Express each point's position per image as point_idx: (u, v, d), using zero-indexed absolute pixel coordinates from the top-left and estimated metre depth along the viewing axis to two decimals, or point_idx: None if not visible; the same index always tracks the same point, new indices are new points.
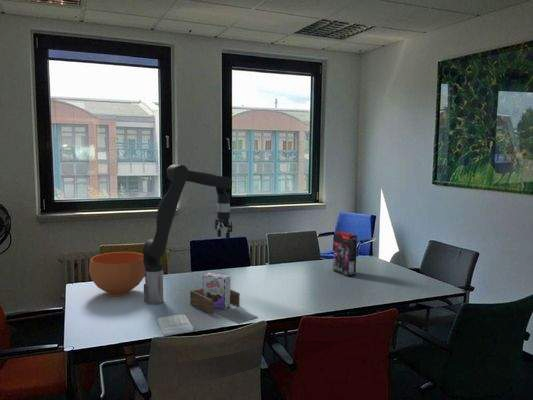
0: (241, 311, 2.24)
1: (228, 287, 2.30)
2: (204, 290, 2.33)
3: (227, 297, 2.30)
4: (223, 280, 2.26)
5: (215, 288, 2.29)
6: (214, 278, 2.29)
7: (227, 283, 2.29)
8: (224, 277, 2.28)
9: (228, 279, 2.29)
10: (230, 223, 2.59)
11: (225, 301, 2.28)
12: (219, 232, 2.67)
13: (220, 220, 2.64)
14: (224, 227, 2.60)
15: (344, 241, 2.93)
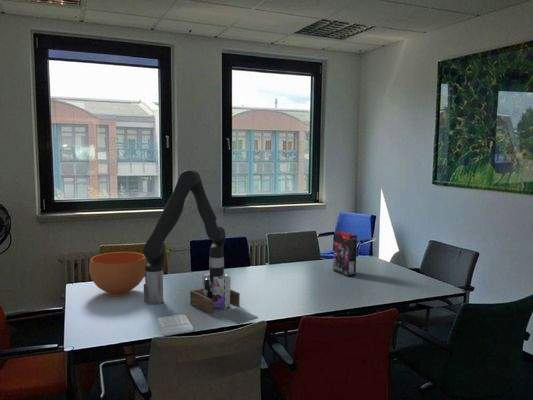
0: (241, 311, 2.24)
1: (228, 287, 2.30)
2: (204, 290, 2.33)
3: (227, 297, 2.30)
4: (223, 280, 2.26)
5: (215, 288, 2.29)
6: (214, 278, 2.29)
7: (227, 283, 2.29)
8: (224, 277, 2.28)
9: (228, 279, 2.29)
10: None
11: (225, 301, 2.28)
12: None
13: None
14: None
15: (344, 241, 2.93)
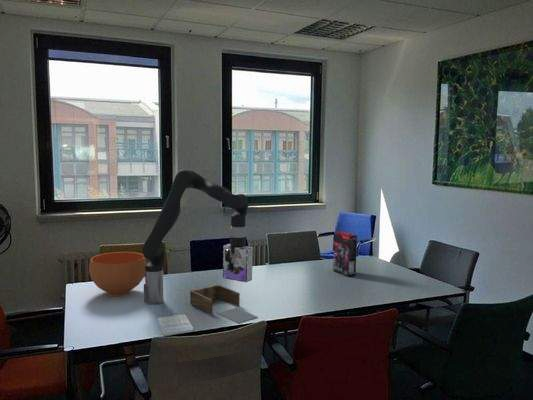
0: (241, 311, 2.24)
1: (250, 259, 2.14)
2: (224, 262, 2.17)
3: (249, 269, 2.14)
4: (245, 251, 2.11)
5: (237, 260, 2.14)
6: (235, 249, 2.13)
7: (249, 254, 2.13)
8: (246, 248, 2.12)
9: (250, 250, 2.13)
10: None
11: (247, 274, 2.13)
12: None
13: None
14: None
15: (344, 241, 2.93)
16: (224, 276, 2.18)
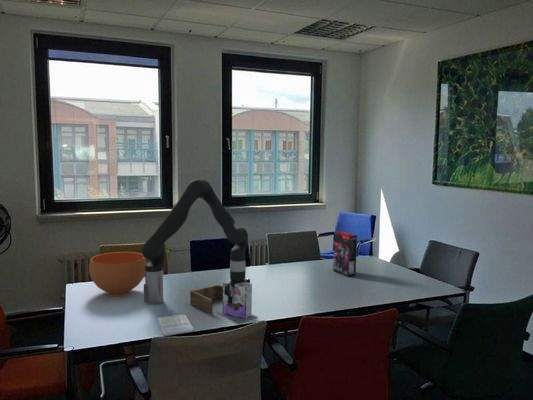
0: None
1: (249, 295, 2.16)
2: (224, 298, 2.19)
3: (249, 306, 2.16)
4: (244, 288, 2.13)
5: (236, 297, 2.15)
6: (235, 285, 2.15)
7: (248, 291, 2.15)
8: (245, 285, 2.14)
9: (249, 287, 2.15)
10: None
11: (246, 310, 2.14)
12: None
13: (236, 282, 2.16)
14: None
15: (344, 241, 2.93)
16: (224, 312, 2.20)
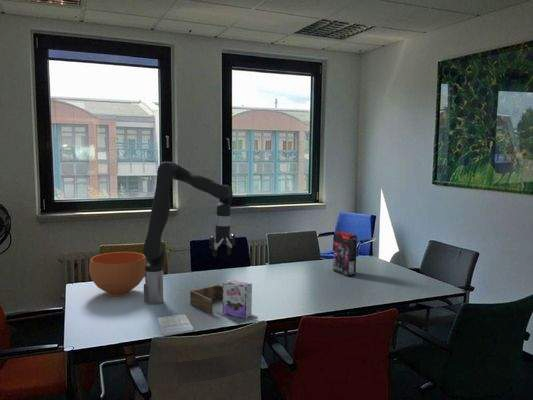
0: None
1: (249, 295, 2.16)
2: (224, 298, 2.19)
3: (249, 306, 2.16)
4: (244, 288, 2.13)
5: (236, 297, 2.15)
6: (235, 285, 2.15)
7: (248, 291, 2.15)
8: (245, 285, 2.14)
9: (249, 287, 2.15)
10: None
11: (246, 310, 2.14)
12: None
13: (221, 236, 2.25)
14: (229, 242, 2.28)
15: (344, 241, 2.93)
16: (224, 312, 2.20)
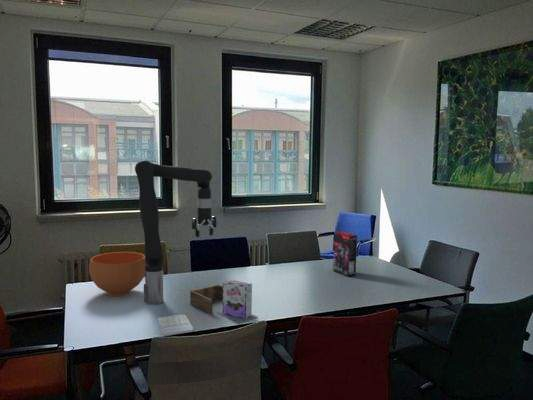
0: None
1: (249, 295, 2.16)
2: (224, 298, 2.19)
3: (249, 306, 2.16)
4: (244, 288, 2.13)
5: (236, 297, 2.15)
6: (235, 285, 2.15)
7: (248, 291, 2.15)
8: (245, 285, 2.14)
9: (249, 287, 2.15)
10: None
11: (246, 310, 2.14)
12: None
13: (203, 217, 2.41)
14: (211, 223, 2.44)
15: (344, 241, 2.93)
16: (224, 312, 2.20)
